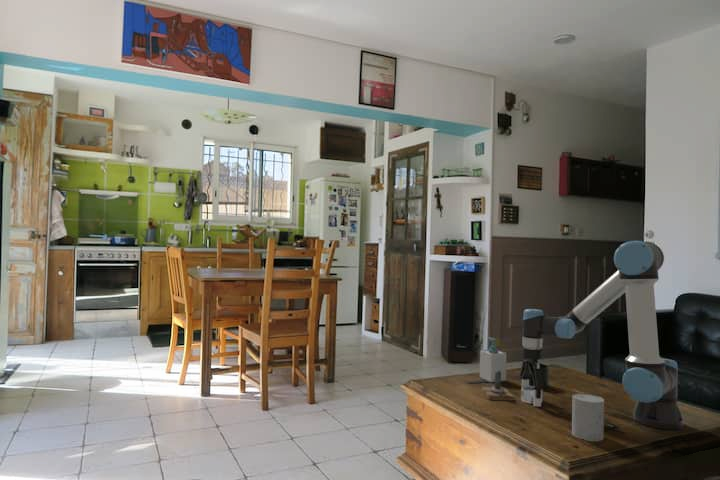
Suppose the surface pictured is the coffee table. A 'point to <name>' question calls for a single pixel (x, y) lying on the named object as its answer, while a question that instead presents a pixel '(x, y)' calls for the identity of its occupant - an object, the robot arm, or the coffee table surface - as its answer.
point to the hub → (528, 394)
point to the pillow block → (497, 390)
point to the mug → (544, 375)
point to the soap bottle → (492, 362)
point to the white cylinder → (588, 417)
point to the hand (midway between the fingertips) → (531, 400)
